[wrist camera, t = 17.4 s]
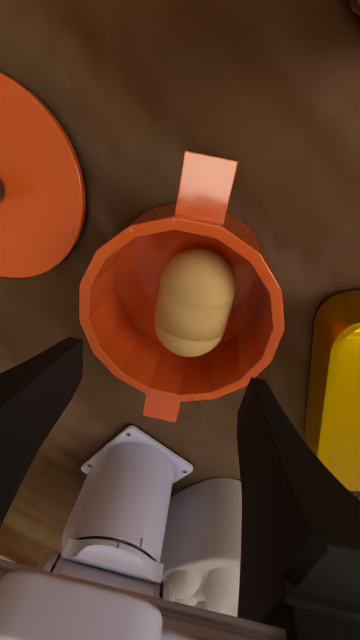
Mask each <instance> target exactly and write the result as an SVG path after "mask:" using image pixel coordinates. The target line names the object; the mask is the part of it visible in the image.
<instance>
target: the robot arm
mask: <svg viewBox="0 0 360 640" xmlns="http://www.w3.org/2000/svg"><path fill="white" fill-rule="evenodd" d="M82 370H83V340H81V339H77V338H72V337H68V338H66V339H64V340H62V341H61V342H59V343H57V344H55V345H54V346H52V347H50V348H49V349H47V350H45V351H43V352H41V353H40V354H38V355H36V356H34V357H32V358H31V359H29V360H27V361H25V362H23V363H21V364H19V365H17V366H15V367H13V368H11V369H9V370H7V371H5V372H2V373H0V526H1V524H2V522H3V520H4V518H5V516H6V514H7V512H8V509H9V507H10V505H11V503H12V501H13V499H14V497H15V495H16V493H17V491H18V489H19V487H20V485H21V483H22V481H23V479H24V477H25V475H26V473H27V471H28V469H29V467H30V465H31V463H32V461H33V459H34V458H35V456H36V454H37V452H38V450H39V448H40V447H41V445H42V443H43V442H44V440H45V439H46V437H47V436H48V434H49V433H50V431H51V430H52V428H53V427H54V425H55V423H56V422H57V420H58V419H59V417H60V416H61V414H62V413H63V411H64V410H65V408H66V407H67V405H68V404H69V402H70V401H71V399H72V397H73V395H74V393H75V391H76V389H77V387H78V385H79V383H80V381H81V379H82ZM237 442H238V454H239V465H240V477H241V490H242V526H241V558H240V580H239V597H238V614H237V617H235V616H230V615H226V614H222V613H218V612H214V611H210V610H206V609H202V608H198V607H194V606H190V605H185V604H181V603H177V602H175V597H174V593H173V591H172V589H171V586H170V583H169V582H168V581H164V580H161V579H162V572H163V566H164V565H163V564H162V563H160V558H161V552H162V546H163V540H164V533H165V527H166V521H167V515H168V508H169V502H170V496H171V490H172V484H173V483H175V482H176V481H178V480H180V479H181V478H183V477H184V476H186V475H187V474H189V473H191V472H192V471H193V466H192V465H191V464H190V463H188V462H187V461H185V460H184V459H182V458H181V457H179V456H178V455H177V454H175V453H174V452H172V451H171V450H169V449H168V448H166V447H165V446H163V445H162V444H160V443H159V442H157V441H156V440H154V439H153V438H151V437H150V436H148V435H147V434H145V433H144V432H142V431H141V430H139V429H138V428H136V427H135V426H132V425H129V426H127V427H126V428H125V429H124V430H123V431H122V432H120V433H119V434H118V435H117V436H116V437H115V438H113V439H112V440H111V441H110V442H109V443H107V444H106V445H105V446H104V447H103V448H102V449H100V450H99V451H98V452H97V453H96V454H95V455H93V456H92V457H91V458H90V459H89V460H87V461H86V462H85V463H84V464H83V465H82V467H81V470H82V471H83V472H84V473H86V474H88V475H87V477H86V479H85V482H84V484H83V486H82V489H81V491H80V493H79V496H78V498H77V501H76V503H75V505H74V508H73V510H72V512H71V515H70V517H69V519H68V522H67V524H66V526H65V529H64V532H63V537H62V553H61V552H58V551H53V552H52V553H51V554H50V555H48V556H47V557H46V558H44V559H43V560H42V561H41V562H40V564H39V565H38V567H37V568H34V567H30V566H26V565H22V564H18V563H14V562H10V561H5V560H1V559H0V640H360V501H359V500H358V499H357V498H356V497H355V496H354V495H353V494H352V493H351V492H350V491H349V490H348V489H347V488H345V487H344V486H343V484H342V483H341V482H340V481H339V480H338V479H337V478H336V477H335V476H334V475H333V474H332V473H331V472H330V471H329V470H328V469H327V468H326V467H325V465H324V464H323V463H322V462H321V461H320V460H319V458H318V457H317V456H316V455H315V454H314V452H313V451H312V450H311V449H310V448H309V446H308V445H307V444H306V443H305V441H304V440H303V438H302V437H301V436H300V434H299V433H298V432H297V430H296V429H295V427H294V426H293V424H292V423H291V421H290V420H289V418H288V417H287V415H286V414H285V412H284V410H283V409H282V407H281V406H280V404H279V402H278V401H277V399H276V397H275V395H274V394H273V392H272V390H271V389H270V387H269V385H268V384H267V382H266V380H262V379H257V378H253V377H251V379H250V381H249V384H248V387H247V389H246V392H245V395H244V397H243V400H242V403H241V405H240V408H239V411H238V421H237Z"/></svg>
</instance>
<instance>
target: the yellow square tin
mask: <svg viewBox="0 0 360 640" xmlns="http://www.w3.org/2000/svg"><path fill="white" fill-rule="evenodd" d="M304 433H305V438H306V442H307V445H308V446H309V448H310V449H311V450H312V451H313V452H314V454H315V455H316V456H317V457H318V458H319V460H320V461H321V462H322V463H323V464H324V465H325V467H326V468H327V469H328V470H329V471H330V472H331V473H332V474H333V475H334V476H335V477H336V478H337V479H338V480H339V481H340V482H341V483H342V484H343V486H344V487H345V488H347V489H348V490H349V491H360V290H352V291H347V292H341V293H339V294H336V295H334V296H331V297H330V298H329V299H327V300H326V301H325V302H324V303H323V304H322V305H321V307H320V308H319V310H318V312H317V314H316V317H315V320H314V331H313V341H312V352H311V363H310V374H309V385H308V396H307V407H306V418H305V429H304Z"/></svg>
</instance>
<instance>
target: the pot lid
mask: <svg viewBox="0 0 360 640" xmlns="http://www.w3.org/2000/svg"><path fill="white" fill-rule="evenodd" d="M85 207H86V201H85V187H84V181H83V176H82V172H81V168H80V165H79V162H78V159H77V156H76V154H75V151H74V149H73V147H72V145H71V143H70V141H69V139H68V137H67V135H66V133H65V131H64V130H63V128H62V127H61V125H60V124H59V122H58V121H57V119H56V118H55V117H54V115H53V114H52V113H51V112H50V111H49V109H48V108H47V107H46V106H45V105H44V104H43V103H42V102H41V101H40V100H39V99H38V98H37V97H36V96H35V95H34V94H33V93H32V92H31V91H29V90H28V89H27V88H26V87H24V86H23V85H22V84H21V83H19V82H17V81H16V80H14V79H12V78H11V77H9V76H8V75H6V74H3V73H1V72H0V276H4V277H10V278H24V277H32V276H36V275H39V274H42V273H44V272H47V271H49V270H51V269H52V268H54V267H55V266H57V265H58V264H60V263H61V262H62V261H63V260H64V259H65V258H66V257H67V256H68V255H69V253H70V252H71V251H72V250H73V248H74V246H75V245H76V243H77V241H78V239H79V236H80V233H81V231H82V227H83V223H84V218H85Z"/></svg>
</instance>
